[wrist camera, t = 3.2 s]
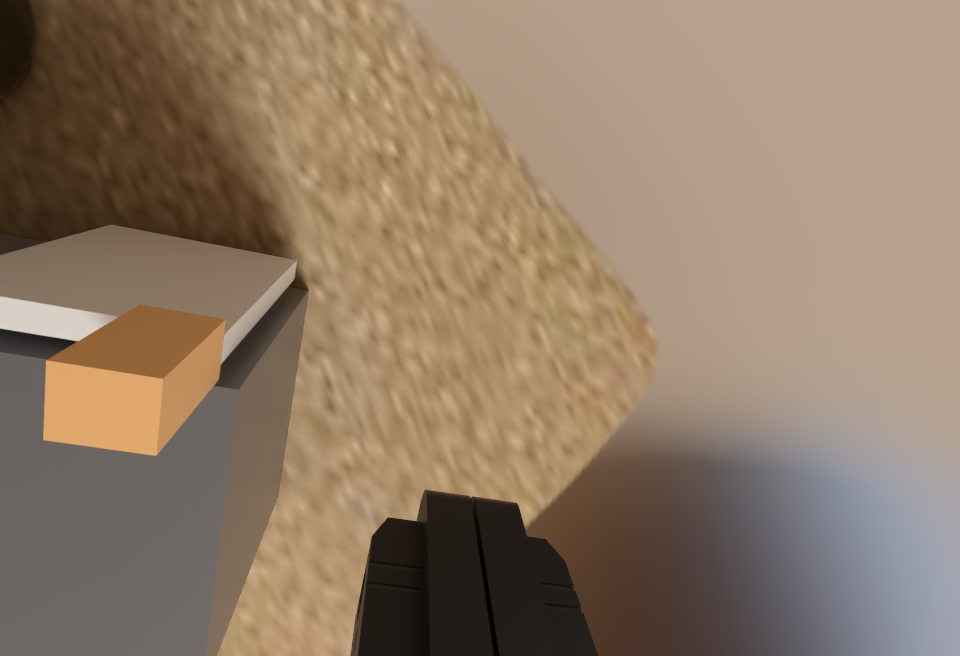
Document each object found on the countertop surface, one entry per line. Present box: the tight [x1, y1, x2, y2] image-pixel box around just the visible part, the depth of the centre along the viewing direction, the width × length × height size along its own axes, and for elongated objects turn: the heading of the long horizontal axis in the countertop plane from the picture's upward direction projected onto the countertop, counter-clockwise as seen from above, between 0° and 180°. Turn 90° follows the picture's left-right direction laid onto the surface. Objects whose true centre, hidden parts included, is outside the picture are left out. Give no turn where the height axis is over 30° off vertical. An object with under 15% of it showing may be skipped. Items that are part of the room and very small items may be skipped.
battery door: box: [0, 225, 297, 456], centre depth 18 cm, size 2×7×14 cm, turn 78°
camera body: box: [0, 233, 309, 656], centre depth 21 cm, size 10×17×12 cm, turn 77°
